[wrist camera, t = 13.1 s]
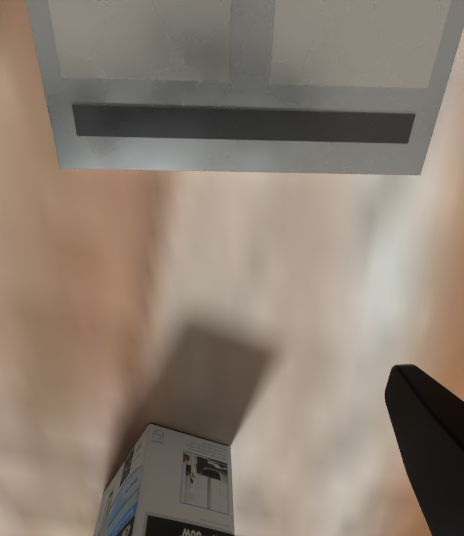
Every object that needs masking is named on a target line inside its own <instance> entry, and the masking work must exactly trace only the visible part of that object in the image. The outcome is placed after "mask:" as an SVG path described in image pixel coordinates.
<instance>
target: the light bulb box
mask: <svg viewBox="0 0 464 536" xmlns="http://www.w3.org/2000/svg"><path fill="white" fill-rule="evenodd" d="M93 536H234V515H233V492H232V468H231V448H230V447H229V446H225V445H222V444H218V443H215V442H211V441H208V440H204V439H201V438H198V437H194V436H191V435H187V434H184V433H180V432H177V431H173V430H170V429H167V428H163V427H160V426H157V425H153V424H149V425H148V426H147V428H146V429H145V431H144V432H143V434H142V435H141V437H140V438H139V440H138V441H137V443H136V444H135V446H134V448H133V449H132V451H131V452H130V454H129V455H128V457H127V458H126V460H125V461H124V463H123V464H122V466H121V467H120V469H119V470H118V472H117V473H116V475H115V477H114V478H113V480H112V481H111V483H110V484H109V486H108V487H107V489H106V490H105V492H104V494H103V496H102V500H101V505H100V510H99V514H98V518H97V522H96V527H95V531H94V535H93Z"/></svg>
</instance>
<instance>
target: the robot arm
mask: <svg viewBox="0 0 464 536" xmlns="http://www.w3.org/2000/svg"><path fill="white" fill-rule="evenodd" d="M385 402H386V406H387V409H388V412H389V416H390V419H391V423H392V426H393V429H394V433H395V436H396V439H397V443H398V446H399V449H400V453H401V456H402V460H403V463H404V466H405V469H406V472H407V475H408V478H409V480H410V483H411V485H412V488H413V490H414V493H415V495H416V498H417V500H418V502H419V505H420V507H421V510H422V512H423V515H424V517H425V519H426V522H427V524H428V527H429V529H430V531H431V534H432V536H464V401H462V400H461V399H460V398H458V397H457V396H456V395H454V394H453V393H452V392H450V391H449V390H448V389H446V388H445V387H444V386H442V385H441V384H440V383H438V382H437V381H436V380H434V379H433V378H432V377H430V376H429V375H428V374H426V373H425V372H424V371H422V370H421V369H420V368H418V367H417V366H415V365H412V364H403V365H394V366H393V367H392V369H391V372H390V375H389V379H388V382H387V386H386V389H385Z"/></svg>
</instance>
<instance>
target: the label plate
mask: <svg viewBox="0 0 464 536" xmlns="http://www.w3.org/2000/svg"><path fill="white" fill-rule="evenodd" d="M26 3H27V8H28V13H29V18H30V23H31V28H32V33H33V38H34V43H35V48H36V53H37V58H38V63H39V68H40V73H41V78H42V83H43V88H44V93H45V98H46V102H47V107H48V112H49V117H50V122H51V127H52V132H53V137H54V142H55V147H56V152H57V157H58V162H59V167H60V168H70V169H123V170H175V171H228V172H280V173H333V174H385V175H420V174H421V171H422V167H423V164H424V161H425V157H426V154H427V150H428V147H429V143H430V140H431V137H432V133H433V130H434V126H435V123H436V120H437V116H438V113H439V109H440V106H441V103H442V99H443V96H444V92H445V89H446V86H447V82H448V79H449V75H450V72H451V68H452V65H453V62H454V58H455V55H456V51H457V48H458V45H459V41H460V38H461V34H462V31H463V28H464V0H26Z"/></svg>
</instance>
